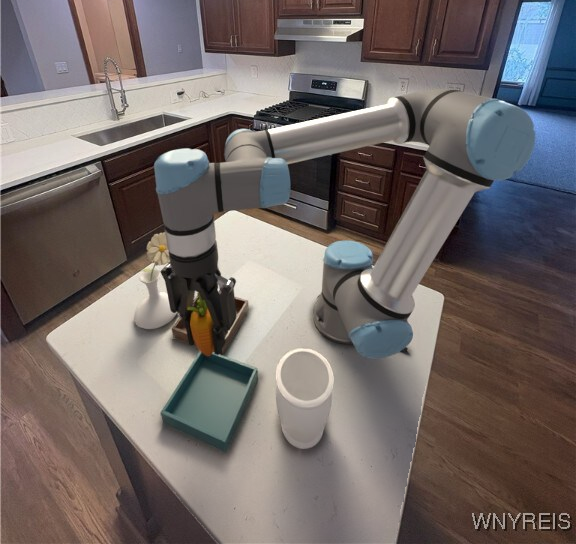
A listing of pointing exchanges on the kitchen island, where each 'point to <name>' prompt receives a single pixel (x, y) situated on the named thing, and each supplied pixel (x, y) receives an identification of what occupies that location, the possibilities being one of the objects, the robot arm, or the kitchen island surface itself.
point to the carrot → (202, 327)
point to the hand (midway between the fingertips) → (207, 343)
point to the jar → (303, 395)
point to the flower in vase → (154, 288)
